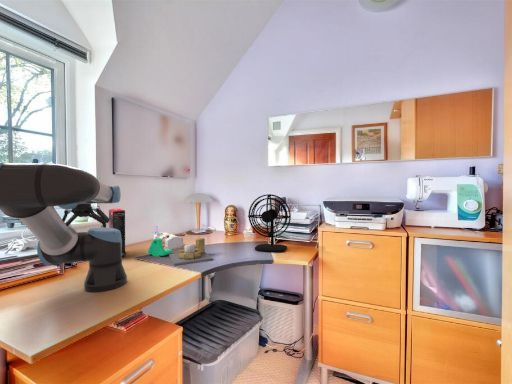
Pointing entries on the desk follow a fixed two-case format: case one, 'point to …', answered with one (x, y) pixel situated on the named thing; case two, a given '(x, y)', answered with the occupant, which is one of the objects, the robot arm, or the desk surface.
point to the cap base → (180, 261)
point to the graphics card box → (118, 224)
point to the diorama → (169, 240)
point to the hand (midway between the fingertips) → (88, 234)
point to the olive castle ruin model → (199, 249)
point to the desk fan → (270, 217)
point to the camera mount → (158, 248)
